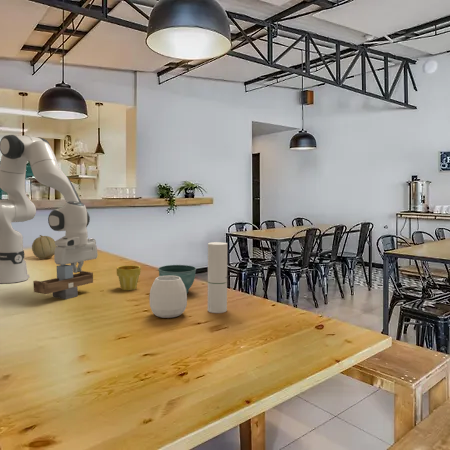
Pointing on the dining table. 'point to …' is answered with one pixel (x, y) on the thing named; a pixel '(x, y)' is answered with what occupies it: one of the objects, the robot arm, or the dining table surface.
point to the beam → (63, 285)
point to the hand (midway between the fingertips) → (77, 272)
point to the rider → (64, 272)
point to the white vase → (168, 296)
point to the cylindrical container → (217, 277)
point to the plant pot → (128, 276)
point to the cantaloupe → (44, 247)
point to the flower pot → (180, 273)
